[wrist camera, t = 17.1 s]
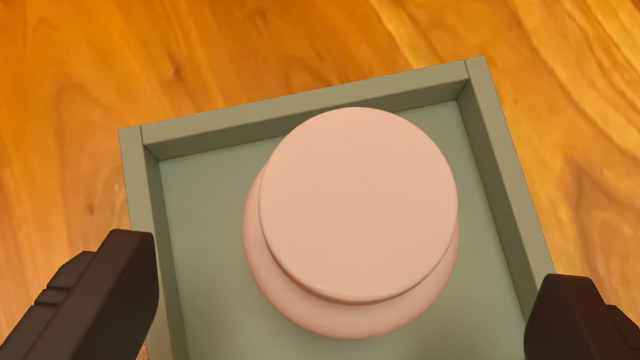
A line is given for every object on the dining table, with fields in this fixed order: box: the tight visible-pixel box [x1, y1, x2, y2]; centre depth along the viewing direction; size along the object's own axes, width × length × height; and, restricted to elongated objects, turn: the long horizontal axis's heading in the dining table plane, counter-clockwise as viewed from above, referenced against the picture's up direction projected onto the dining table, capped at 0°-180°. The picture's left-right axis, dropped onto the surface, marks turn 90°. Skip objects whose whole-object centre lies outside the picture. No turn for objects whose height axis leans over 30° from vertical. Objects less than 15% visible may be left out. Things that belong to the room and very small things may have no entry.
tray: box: [118, 56, 556, 360], centre depth 19 cm, size 14×12×2 cm
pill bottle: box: [242, 107, 459, 340], centre depth 15 cm, size 6×5×10 cm
